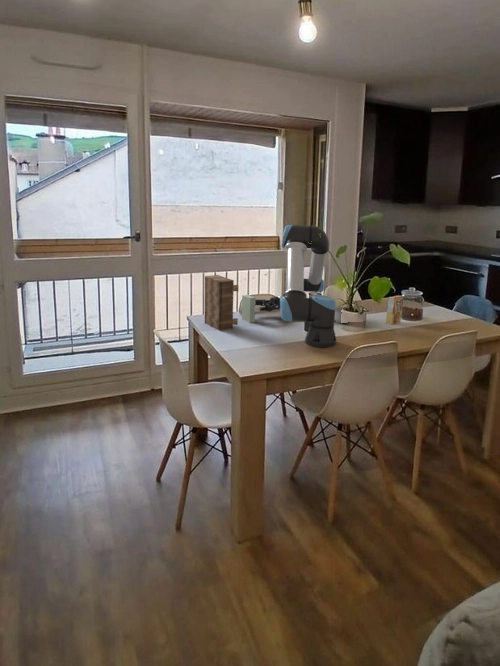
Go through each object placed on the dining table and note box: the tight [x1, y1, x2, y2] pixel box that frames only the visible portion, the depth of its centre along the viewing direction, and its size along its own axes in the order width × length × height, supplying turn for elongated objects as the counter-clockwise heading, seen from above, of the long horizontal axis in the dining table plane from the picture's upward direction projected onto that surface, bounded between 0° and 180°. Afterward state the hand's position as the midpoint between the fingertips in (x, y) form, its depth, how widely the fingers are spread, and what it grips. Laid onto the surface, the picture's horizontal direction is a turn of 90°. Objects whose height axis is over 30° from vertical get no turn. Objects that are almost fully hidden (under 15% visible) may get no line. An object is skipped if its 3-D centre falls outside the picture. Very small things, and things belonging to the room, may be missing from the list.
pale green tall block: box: [241, 294, 257, 324], centre depth 273 cm, size 8×4×14 cm, turn 34°
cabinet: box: [204, 274, 239, 331], centre depth 259 cm, size 18×10×26 cm, turn 34°
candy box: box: [385, 295, 405, 325], centre depth 278 cm, size 9×4×15 cm, turn 129°
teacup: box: [334, 306, 344, 324], centre depth 278 cm, size 14×11×8 cm
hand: (247, 306), depth 273 cm, fingers open, 13 cm apart
